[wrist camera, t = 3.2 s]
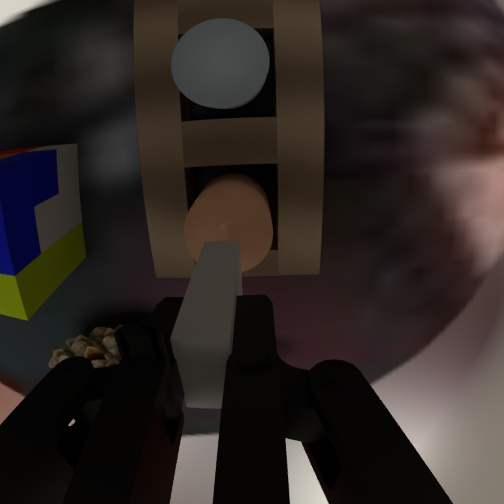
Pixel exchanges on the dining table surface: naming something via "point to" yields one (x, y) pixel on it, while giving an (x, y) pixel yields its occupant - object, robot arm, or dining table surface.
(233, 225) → the terracotta cap
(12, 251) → the puzzle toy
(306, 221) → the button board
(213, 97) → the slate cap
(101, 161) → the dining table surface
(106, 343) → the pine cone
